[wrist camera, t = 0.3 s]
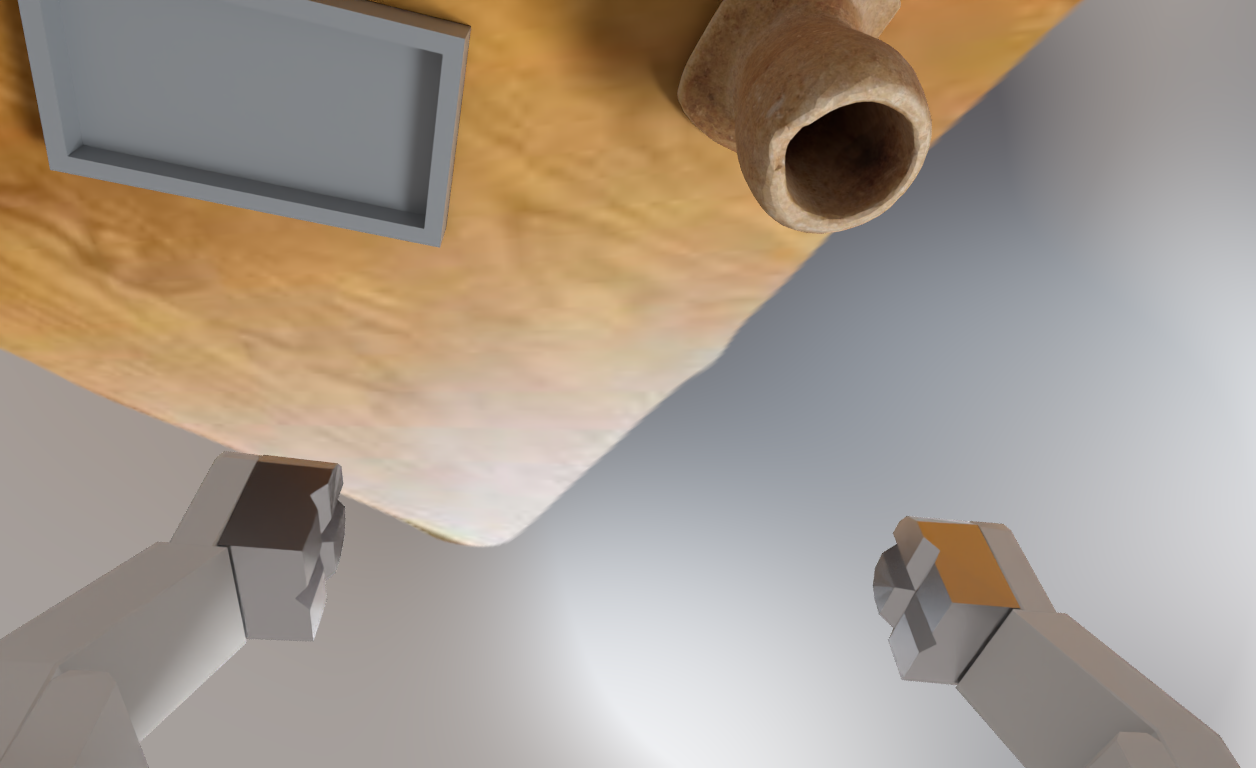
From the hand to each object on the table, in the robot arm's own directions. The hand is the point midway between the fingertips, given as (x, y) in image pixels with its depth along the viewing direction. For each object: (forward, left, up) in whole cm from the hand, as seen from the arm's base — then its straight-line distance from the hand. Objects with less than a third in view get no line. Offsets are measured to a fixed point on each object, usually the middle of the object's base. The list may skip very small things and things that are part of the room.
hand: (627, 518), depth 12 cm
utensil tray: (+13, -20, -46) cm, 52 cm away
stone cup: (+2, +13, -46) cm, 48 cm away
